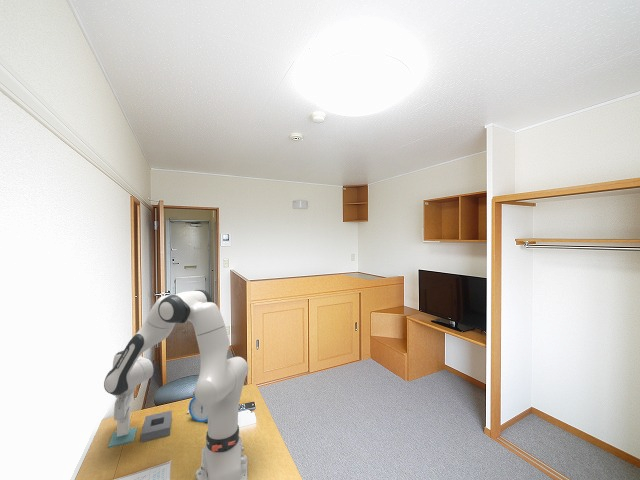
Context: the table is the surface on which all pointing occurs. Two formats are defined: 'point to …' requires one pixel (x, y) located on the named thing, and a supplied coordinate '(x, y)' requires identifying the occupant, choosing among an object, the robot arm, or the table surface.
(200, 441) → the table surface
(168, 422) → the socket header
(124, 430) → the plug
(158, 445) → the table surface
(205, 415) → the alarm clock
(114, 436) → the mat
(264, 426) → the table surface
